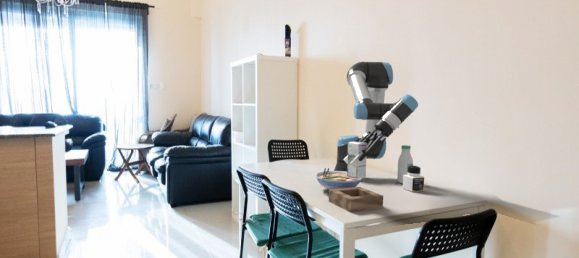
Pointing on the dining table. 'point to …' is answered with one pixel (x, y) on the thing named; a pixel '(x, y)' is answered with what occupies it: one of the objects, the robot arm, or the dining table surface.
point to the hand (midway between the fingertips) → (349, 163)
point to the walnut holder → (355, 199)
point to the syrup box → (353, 152)
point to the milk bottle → (404, 162)
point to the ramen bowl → (336, 179)
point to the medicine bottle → (413, 179)
